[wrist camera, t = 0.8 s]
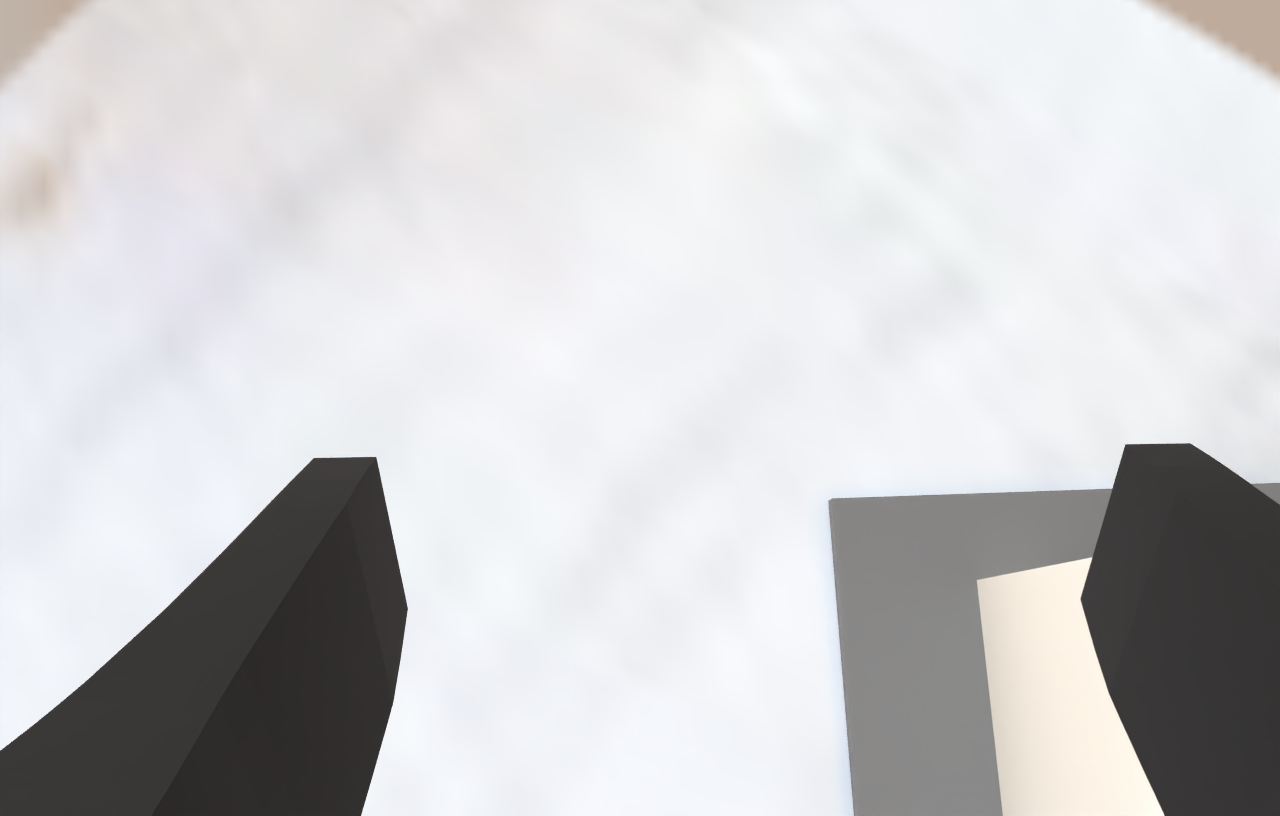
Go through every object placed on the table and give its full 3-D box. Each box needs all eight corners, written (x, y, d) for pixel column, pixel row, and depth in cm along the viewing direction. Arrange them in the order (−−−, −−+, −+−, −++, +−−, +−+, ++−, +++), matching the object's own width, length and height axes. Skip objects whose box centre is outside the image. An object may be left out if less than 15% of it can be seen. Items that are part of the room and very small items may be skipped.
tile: (1098, 954, 23) (1476, 1174, 13) (1018, 958, 23) (1339, 1182, 13) (1050, 577, 25) (1352, 525, 15) (976, 580, 25) (1230, 529, 15)
